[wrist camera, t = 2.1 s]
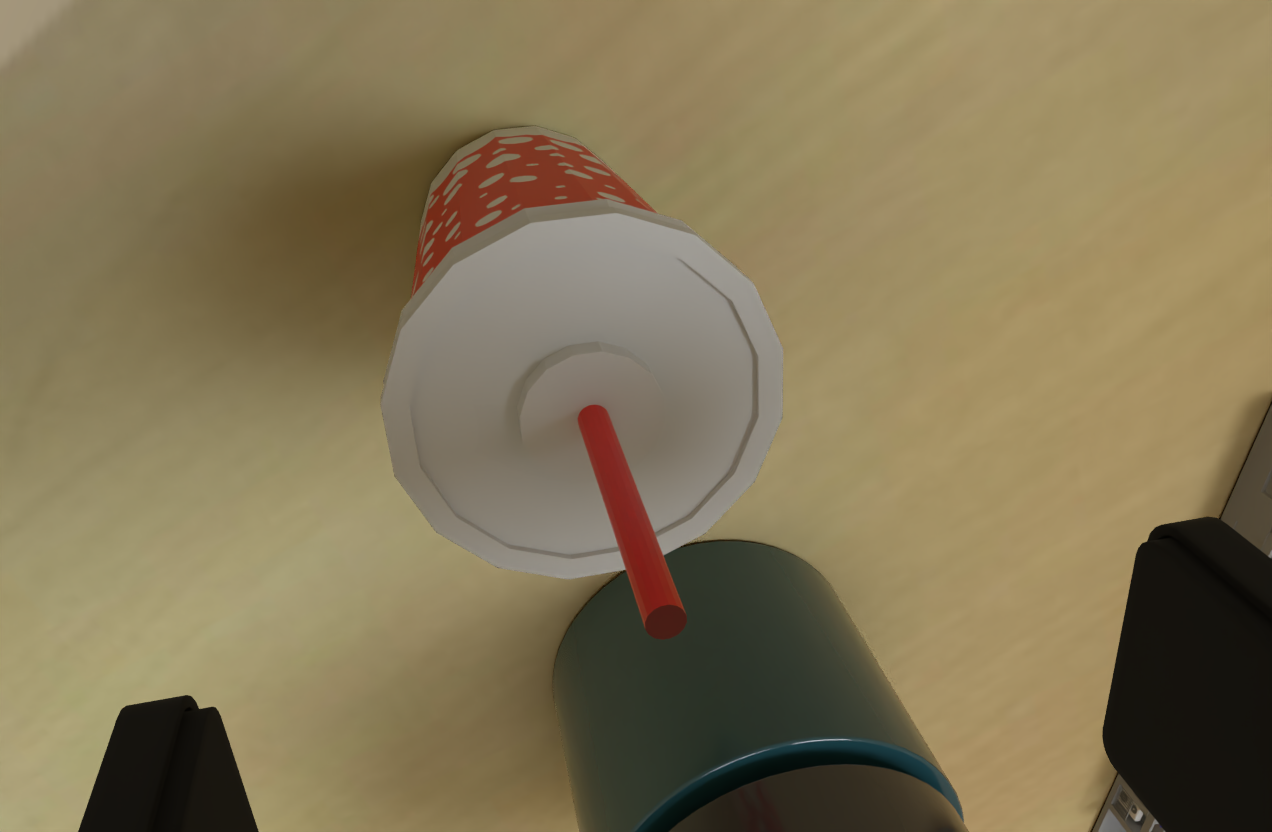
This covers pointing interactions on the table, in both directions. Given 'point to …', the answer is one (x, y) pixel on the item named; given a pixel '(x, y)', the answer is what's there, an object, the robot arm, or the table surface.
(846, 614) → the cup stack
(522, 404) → the beverage cup
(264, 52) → the table surface
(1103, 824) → the building model
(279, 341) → the table surface
